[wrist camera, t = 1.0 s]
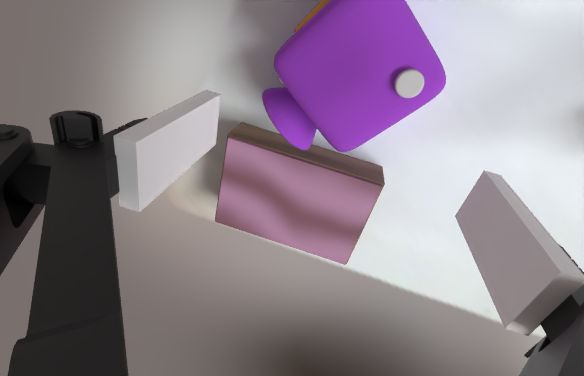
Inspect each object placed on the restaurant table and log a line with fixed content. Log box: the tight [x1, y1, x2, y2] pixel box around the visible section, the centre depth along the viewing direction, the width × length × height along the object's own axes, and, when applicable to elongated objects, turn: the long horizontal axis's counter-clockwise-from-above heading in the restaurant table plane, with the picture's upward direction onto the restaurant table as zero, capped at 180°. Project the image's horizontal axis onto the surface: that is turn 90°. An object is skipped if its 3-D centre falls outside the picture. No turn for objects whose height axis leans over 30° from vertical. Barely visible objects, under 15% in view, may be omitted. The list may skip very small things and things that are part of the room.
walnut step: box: [215, 122, 385, 265], centre depth 34 cm, size 11×16×4 cm
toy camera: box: [262, 0, 446, 152], centre depth 25 cm, size 11×14×10 cm
